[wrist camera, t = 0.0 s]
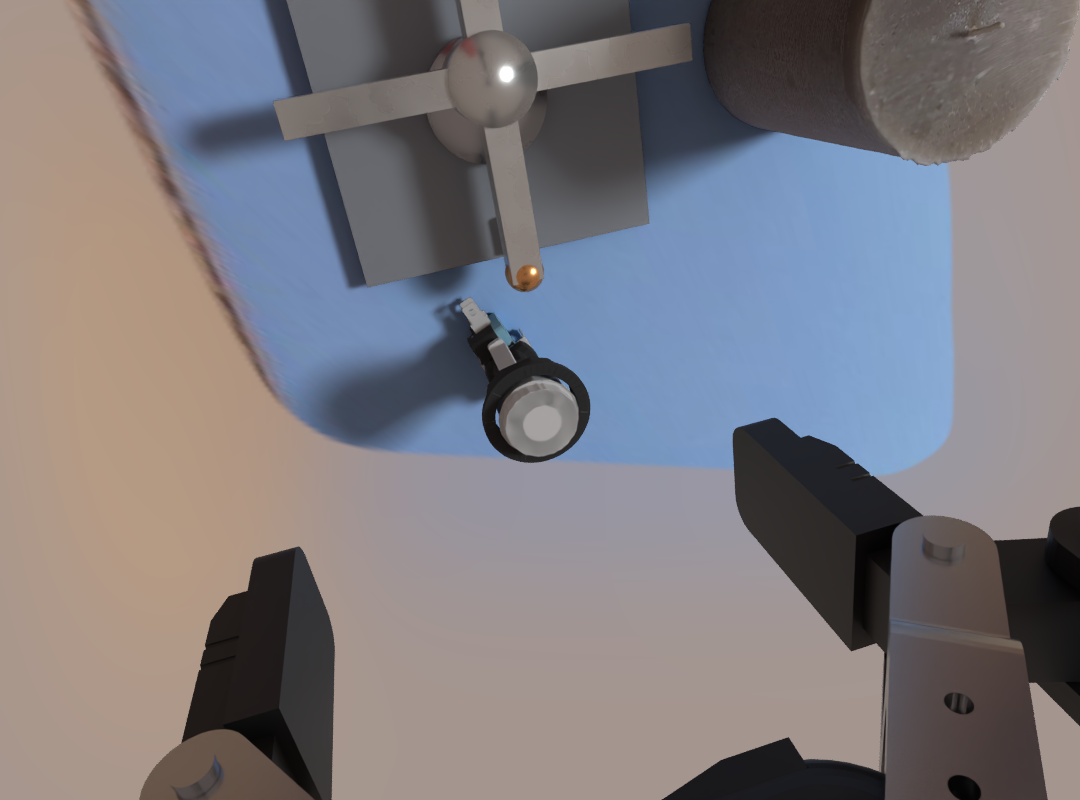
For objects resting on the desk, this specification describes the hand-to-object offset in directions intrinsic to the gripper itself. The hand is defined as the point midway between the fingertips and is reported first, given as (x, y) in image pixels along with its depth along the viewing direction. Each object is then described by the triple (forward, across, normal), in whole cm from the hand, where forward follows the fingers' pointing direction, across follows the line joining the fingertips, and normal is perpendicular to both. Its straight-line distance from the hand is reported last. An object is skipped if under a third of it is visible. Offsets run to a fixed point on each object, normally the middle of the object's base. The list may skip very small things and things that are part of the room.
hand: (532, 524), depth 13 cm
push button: (+30, -3, +8) cm, 31 cm away
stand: (+29, -5, -6) cm, 30 cm away
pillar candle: (+30, -22, -5) cm, 37 cm away
